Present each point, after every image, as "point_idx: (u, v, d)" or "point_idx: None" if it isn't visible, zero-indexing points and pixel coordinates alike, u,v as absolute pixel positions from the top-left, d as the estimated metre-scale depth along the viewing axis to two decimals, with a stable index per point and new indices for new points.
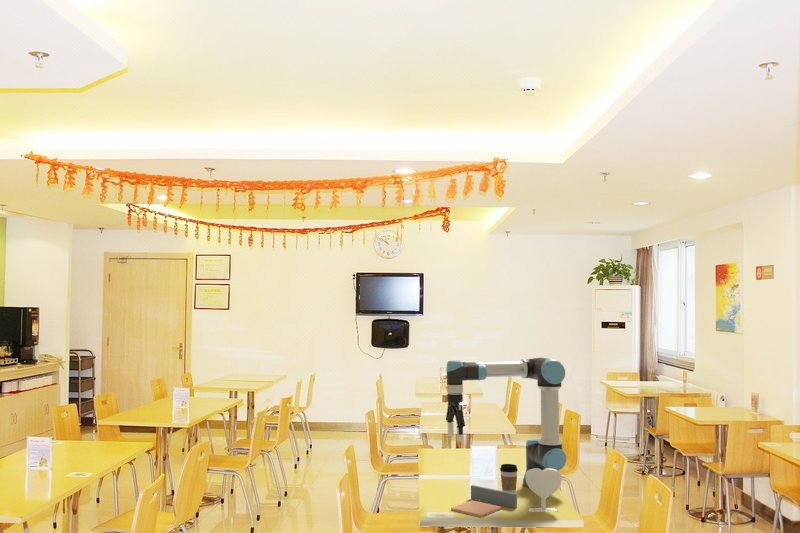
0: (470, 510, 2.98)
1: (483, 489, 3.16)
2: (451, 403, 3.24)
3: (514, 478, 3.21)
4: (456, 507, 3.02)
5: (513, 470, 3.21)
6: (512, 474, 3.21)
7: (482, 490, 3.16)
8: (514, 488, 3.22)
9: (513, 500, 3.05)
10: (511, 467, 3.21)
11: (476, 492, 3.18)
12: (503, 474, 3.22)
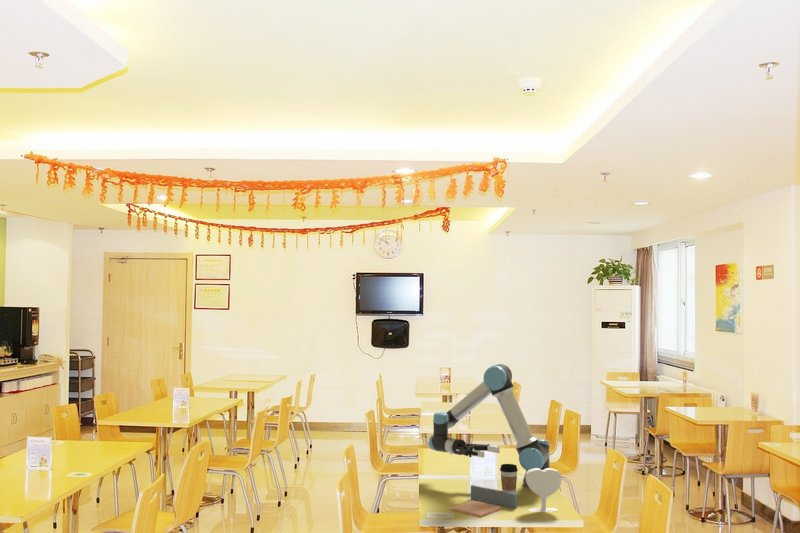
0: (470, 510, 2.98)
1: (483, 489, 3.16)
2: None
3: (514, 478, 3.21)
4: (456, 507, 3.02)
5: (513, 470, 3.21)
6: (512, 474, 3.21)
7: (482, 490, 3.16)
8: (514, 488, 3.22)
9: (513, 500, 3.05)
10: (511, 467, 3.21)
11: (476, 492, 3.18)
12: (503, 474, 3.22)
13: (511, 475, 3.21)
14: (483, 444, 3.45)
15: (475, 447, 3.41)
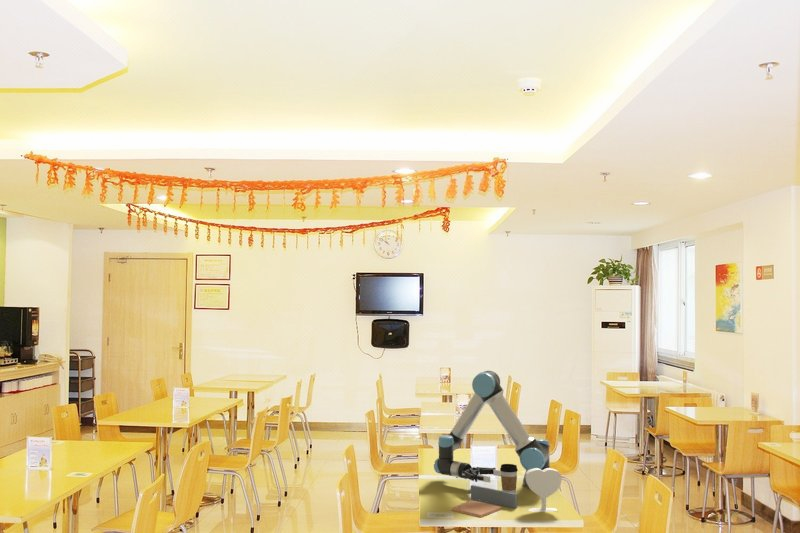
0: (470, 510, 2.98)
1: (483, 489, 3.16)
2: None
3: (514, 478, 3.21)
4: (456, 507, 3.02)
5: (513, 470, 3.21)
6: (512, 474, 3.21)
7: (482, 490, 3.16)
8: (514, 488, 3.22)
9: (513, 500, 3.05)
10: (511, 467, 3.21)
11: (476, 492, 3.18)
12: (503, 474, 3.22)
13: (511, 475, 3.21)
14: None
15: (481, 471, 3.38)
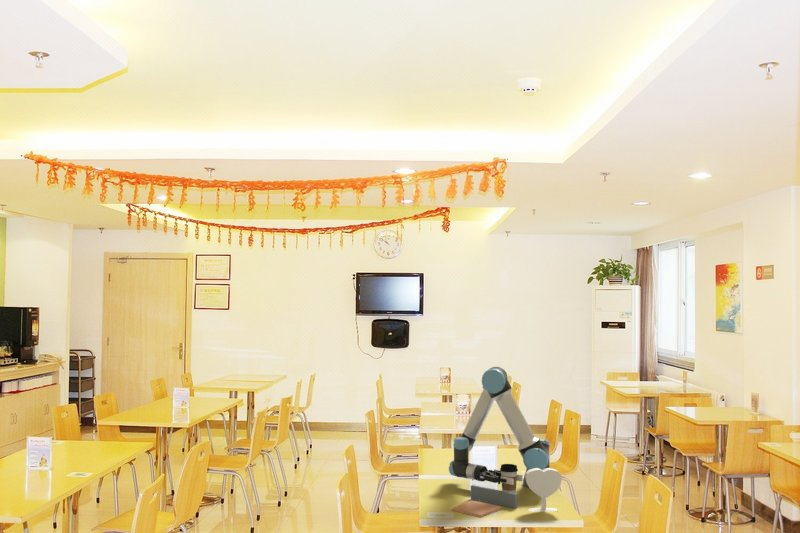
0: (470, 510, 2.98)
1: (483, 489, 3.16)
2: None
3: (514, 478, 3.21)
4: (456, 507, 3.02)
5: (513, 470, 3.21)
6: (512, 474, 3.21)
7: (482, 490, 3.16)
8: (514, 488, 3.22)
9: (513, 500, 3.05)
10: (511, 467, 3.21)
11: (476, 492, 3.18)
12: (503, 474, 3.22)
13: (511, 475, 3.21)
14: None
15: (497, 474, 3.31)
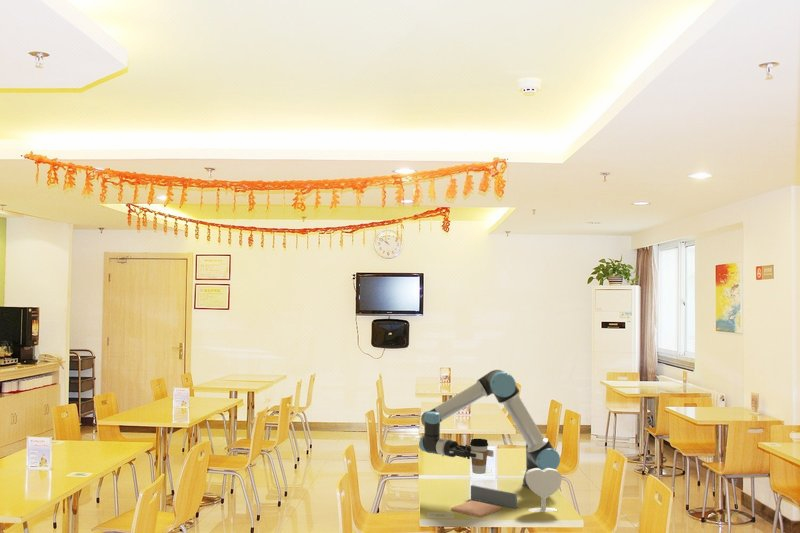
0: (470, 510, 2.98)
1: (483, 489, 3.16)
2: None
3: (484, 453, 3.08)
4: (456, 507, 3.02)
5: (483, 444, 3.07)
6: (482, 449, 3.08)
7: (482, 490, 3.16)
8: (484, 463, 3.08)
9: (513, 500, 3.05)
10: (481, 441, 3.07)
11: (476, 492, 3.18)
12: (473, 449, 3.09)
13: (481, 450, 3.07)
14: None
15: (467, 449, 3.18)
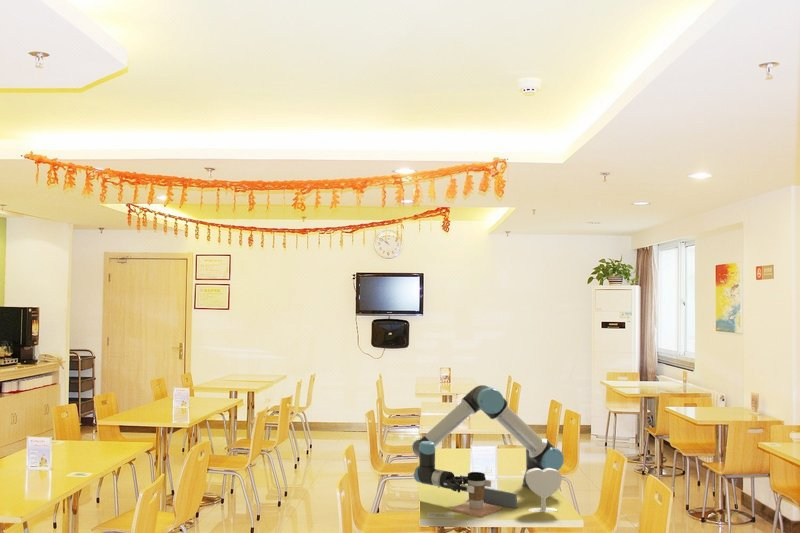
0: (470, 510, 2.98)
1: None
2: None
3: (481, 487, 3.00)
4: (456, 507, 3.02)
5: (480, 479, 3.00)
6: (479, 483, 3.00)
7: None
8: (481, 498, 3.01)
9: (513, 500, 3.05)
10: (478, 475, 3.00)
11: None
12: (470, 483, 3.01)
13: (478, 484, 3.00)
14: None
15: (464, 480, 3.11)
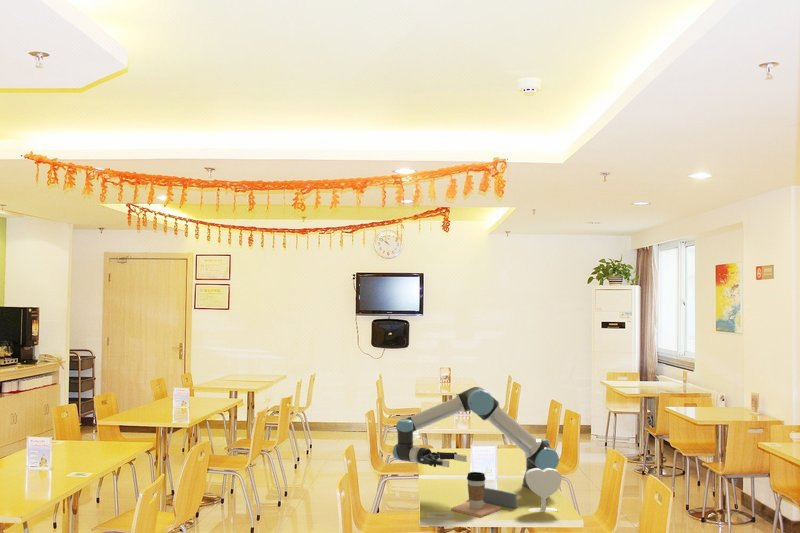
0: (470, 510, 2.98)
1: None
2: None
3: (481, 487, 3.00)
4: (456, 507, 3.02)
5: (480, 479, 3.00)
6: (479, 483, 3.00)
7: None
8: (481, 498, 3.01)
9: (513, 500, 3.05)
10: (478, 476, 3.00)
11: None
12: (470, 483, 3.01)
13: (478, 484, 3.00)
14: None
15: (441, 456, 3.20)
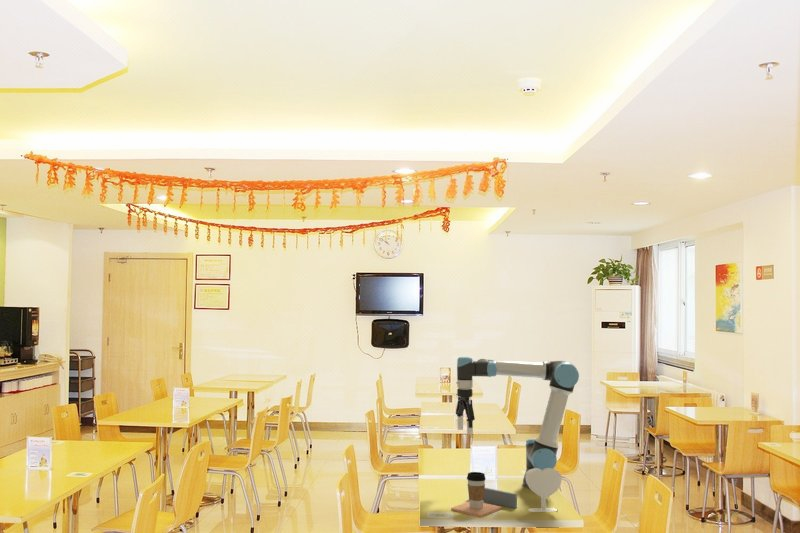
0: (470, 510, 2.98)
1: None
2: (461, 398, 3.37)
3: (481, 487, 3.00)
4: (456, 507, 3.02)
5: (480, 479, 3.00)
6: (479, 483, 3.00)
7: None
8: (481, 498, 3.01)
9: (513, 500, 3.05)
10: (478, 476, 3.00)
11: None
12: (470, 483, 3.01)
13: (478, 484, 3.00)
14: None
15: (463, 407, 3.39)
